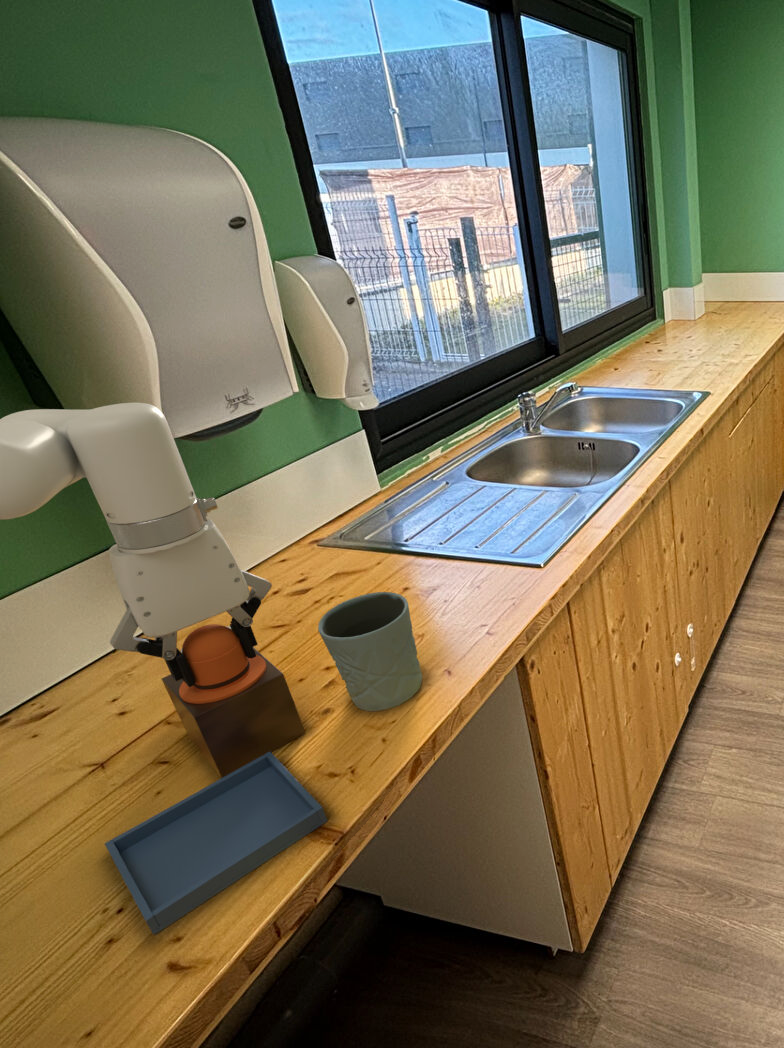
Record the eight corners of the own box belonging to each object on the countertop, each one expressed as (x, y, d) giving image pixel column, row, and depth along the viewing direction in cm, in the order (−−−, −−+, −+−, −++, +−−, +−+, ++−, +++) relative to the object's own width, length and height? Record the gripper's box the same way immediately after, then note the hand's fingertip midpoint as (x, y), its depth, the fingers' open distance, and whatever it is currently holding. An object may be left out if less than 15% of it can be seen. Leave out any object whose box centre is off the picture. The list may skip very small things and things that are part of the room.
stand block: (222, 779, 78) (194, 717, 74) (189, 737, 85) (161, 678, 81) (305, 733, 85) (283, 673, 81) (268, 697, 91) (246, 640, 87)
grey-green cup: (442, 669, 95) (423, 594, 90) (398, 721, 86) (374, 640, 81) (376, 663, 97) (353, 589, 92) (326, 713, 88) (298, 634, 83)
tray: (154, 935, 62) (145, 920, 61) (112, 857, 70) (104, 843, 69) (328, 821, 72) (322, 807, 72) (275, 764, 80) (269, 751, 79)
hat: (195, 714, 75) (171, 661, 72) (169, 684, 80) (146, 633, 77) (278, 673, 81) (259, 623, 78) (249, 648, 86) (230, 599, 83)
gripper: (237, 488, 80) (285, 621, 88) (43, 547, 68) (117, 694, 76) (264, 504, 76) (311, 642, 83) (61, 569, 64) (138, 723, 71)
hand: (218, 665), depth 79 cm, fingers closed on hat, 5 cm apart
